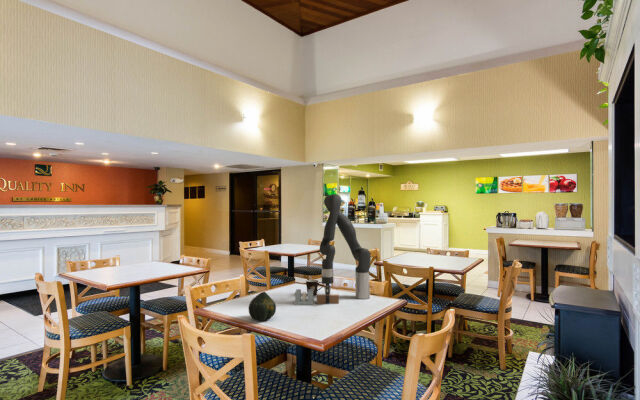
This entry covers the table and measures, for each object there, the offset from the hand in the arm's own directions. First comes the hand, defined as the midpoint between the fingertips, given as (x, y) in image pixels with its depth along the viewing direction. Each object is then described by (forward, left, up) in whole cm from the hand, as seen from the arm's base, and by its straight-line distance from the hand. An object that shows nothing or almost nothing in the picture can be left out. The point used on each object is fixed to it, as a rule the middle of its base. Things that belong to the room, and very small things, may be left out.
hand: (327, 302), depth 227 cm
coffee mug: (+10, -20, 0) cm, 22 cm away
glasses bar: (0, 0, 0) cm, 0 cm away
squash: (+35, +34, 0) cm, 49 cm away
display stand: (+15, 0, 0) cm, 15 cm away
